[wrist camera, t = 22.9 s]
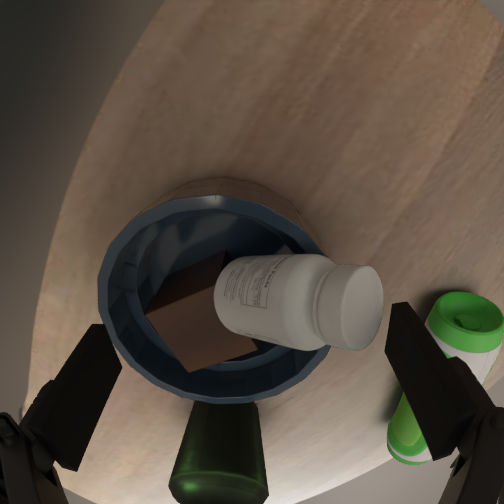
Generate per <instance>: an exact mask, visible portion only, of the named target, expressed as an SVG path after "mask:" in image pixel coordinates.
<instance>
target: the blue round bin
mask: <svg viewBox="0 0 504 504" xmlns="http://www.w3.org/2000/svg"><path fill="white" fill-rule="evenodd" d="M224 250H226V251H227V252H228V254H229V256H230V258H231V260H232V261H233V260H235V259H237V258H240V257H244V256H265V255H294V254H318V255H322V256H325V257H326V258H328V256H327V254H326V252H325V251H324V249H323V247H322V245H321V243H320V241H319V239H318V238H317V236H316V234H315V232H314V230H313V228H312V227H311V225H310V224H309V223H308V222H307V221H306V219H305V218H304V217H303V216H302V215H301V213H300V212H299V211H298V210H297V209H296V208H295V206H294V205H293V204H292V203H291V202H290V201H288V200H287V199H285V198H283V197H282V196H280V195H278V194H276V193H275V192H273V191H271V190H270V189H268V188H266V187H265V186H263V185H260V184H257V183H252V182H247V181H243V180H238V179H233V178H228V177H227V178H226V177H221V178H212V179H204V180H196V181H191V182H189V183H186V184H184V185H182V186H180V187H178V188H176V189H174V190H172V191H170V192H168V193H166V194H164V195H162V196H161V197H160V198H158V199H157V200H156V201H154V202H153V203H152V204H151V205H149V206H148V207H147V208H146V209H144V210H143V211H142V212H141V213H139V214H138V215H137V216H136V217H134V218H133V219H132V220H131V221H130V222H129V223H128V225H127V226H126V227H125V228H124V229H123V230H122V231H121V232H120V233H119V235H118V236H117V237H116V238H115V239H114V240H113V241H112V243H111V244H110V245H109V246H108V249H107V252H106V255H105V257H104V260H103V263H102V266H101V269H100V271H99V274H98V309H99V313H100V316H101V319H102V321H103V324H105V326H106V328H107V331H108V334H109V336H110V339H111V341H112V343H113V345H114V346H115V347H116V349H117V350H118V351H119V353H120V354H121V355H122V357H123V358H124V359H125V361H126V362H127V363H128V364H129V365H130V366H131V367H132V368H133V369H135V370H136V371H137V372H138V373H140V374H141V375H142V376H143V377H145V378H146V379H147V380H149V381H150V382H151V383H153V384H154V385H156V386H158V387H160V388H162V389H164V390H167V391H169V392H171V393H173V394H176V395H178V396H180V397H182V398H183V397H184V398H187V399H192V400H197V401H202V402H207V403H212V404H238V403H250V402H254V401H258V400H261V399H265V398H268V397H272V396H276V395H278V394H280V393H282V392H284V391H285V390H287V389H289V388H291V387H292V386H294V385H296V384H297V383H299V382H301V381H302V380H304V379H305V378H306V377H307V376H308V375H309V374H310V373H311V372H312V371H313V370H314V369H315V368H316V367H317V366H318V365H319V364H320V362H321V361H322V360H323V359H324V358H325V357H326V356H327V354H328V351H329V349H330V347H331V345H327V344H326V345H325V346H323V347H321V348H319V349H316V350H312V351H304V350H299V349H294V348H290V347H286V346H282V345H278V344H274V343H270V342H267V341H263V340H259V339H258V350H256V351H253V352H250V353H247V354H244V355H241V356H239V357H236V358H233V359H230V360H227V361H224V362H221V363H218V364H215V365H212V366H208V367H205V368H202V369H199V370H196V371H192V372H188V371H187V370H186V369H185V368H184V366H183V365H182V364H181V363H180V361H179V360H178V359H177V357H176V356H175V355H174V354H173V352H172V351H171V350H170V348H169V347H168V346H167V344H166V343H165V342H164V340H163V339H162V338H161V336H160V335H159V334H158V332H157V331H156V330H155V328H154V327H153V325H152V324H151V323H150V321H149V320H148V318H147V317H146V316H145V314H146V312H147V310H148V308H149V306H150V304H151V303H152V301H153V299H154V297H155V295H156V293H157V292H158V290H159V288H160V286H161V284H162V282H163V281H164V279H165V277H167V276H169V275H171V274H174V273H176V272H178V271H180V270H182V269H184V268H187V267H189V266H191V265H193V264H195V263H198V262H200V261H202V260H204V259H206V258H208V257H211V256H213V255H215V254H217V253H219V252H222V251H224ZM328 259H329V258H328Z"/></svg>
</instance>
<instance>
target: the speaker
mask: <svg viewBox="0 0 504 504" xmlns="http://www.w3.org/2000/svg"><path fill="white" fill-rule="evenodd" d="M424 325H425V327H426V328H427V329H428V331H429V332H430V334H431V335H432V336H433V338H434V339H435V341H436V342H437V344H438V345H439V347H440V348H441V349H442V351H443V352H444V354H445V355H446V357H447V358H451V357H454V356H457V357H459V358H460V359H462V360H463V361H464V362H466V363H467V365H468V366H469V368H470V369H471V370H472V373H474V375H475V376H476V378H477V381H479V382H480V384H481V385H483V383H484V381H485V379H486V377H487V375H488V374H489V372H490V370H491V368H492V366H493V364H494V362H495V360H496V358H497V356H498V353H499V351H500V348H501V344H502V340H503V332H504V317H503V314H502V312H501V311H500V309H499V308H498V307H497V306H496V305H495V304H494V303H492V302H491V301H489V300H488V299H486V298H484V297H481V296H479V295H476V294H472V293H467V292H450V293H447V294H444V295H443V296H441V297H439V298H438V299H437V301H436V302H435V304H434V306H433V307H432V309H431V311H430V313H429V315H428V317H427V319H426V322H425V323H424ZM387 447H388V450H389V452H390V454H391V455H392V456H393V457H394V458H395V459H396V460H398V461H399V462H402V463H404V464H408V465H419V464H423V463H425V462H427V461H429V460H431V459H432V457H431V454H430V452H429V449H428V447H427V444H426V442H425V439H424V437H423V435H422V432H421V430H420V428H419V425H418V423H417V421H416V418H415V416H414V414H413V411H412V409H411V407H410V405H409V402H408V400H407V398H406V396H405V394H404V391H403V393H402V397H401V400H400V402H399V404H398V407H397V409H396V411H395V413H394V415H393V416H392V418H391V420H390V422H389V425H388V430H387Z"/></svg>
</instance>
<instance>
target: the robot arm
mask: <svg viewBox="0 0 504 504" xmlns="http://www.w3.org/2000/svg"><path fill="white" fill-rule="evenodd" d="M385 354H386V356H387V358H388V360H389V362H390V364H391V366H392V368H393V370H394V372H395V374H396V376H397V379H398V381H399V383H400V385H401V387H402V389H403V391H404V394H405V396H406V398H407V400H408V402H409V405H410V407H411V409H412V411H413V414H414V416H415V418H416V421H417V423H418V425H419V428H420V430H421V432H422V435H423V437H424V439H425V442H426V444H427V447H428V449H429V452H430V454H431V457H432V459H433V461H435V460H438V459H441V458H444V457H446V456H449V455H451V454H452V452H453V451H454V449H455V448H456V446H457V448H458V450H459V452H460V454H459V455H458V457H457V458H456V459H455V461H454V462H453V463H452V465H451V467H450V468H453V466H454V468H453V470H452V473H451V475H450V478H449V480H448V483H447V485H446V488H445V490H444V492H443V494H442V496H441V499H440V501H439V503H438V504H496V503H497V500H498V497H499V500H498V504H504V408H503V407H496V406H495V405H494V404H493V402H492V401H491V399H490V397H489V396H488V394H487V393H486V391H485V390H484V388H483V387H482V385H481V384H480V382H479V381H477V378H476V376H475V375H474V373H472V370H471V369H470V368H469V366H468V365H467V363H466V362H464V361H463V360H462V359H460V358H459V357H457V356H454V357H451V358H447V357H446V355H445V354H444V352H443V351H442V349H441V348H440V347H439V345H438V344H437V342H436V341H435V339H434V338H433V336H432V335H431V334H430V332H429V331H428V329H427V328H426V327H425V325H424V324H423V322H422V321H421V320H420V318H419V317H418V316H417V314H416V313H415V311H414V310H413V309H412V307H411V306H410V305H409V303H408V302H401V303H394V304H392V308H391V315H390V322H389V328H388V334H387V340H386V345H385ZM121 370H122V365H121V363H120V361H119V358H118V356H117V353H116V351H115V349H114V346H113V344H112V341H111V339H110V336H109V334H108V331H107V328H106V326H105V324H92V325H91V326H90V327H89V329H88V330H87V332H86V333H85V334H84V336H83V337H82V339H81V340H80V342H79V343H78V345H77V346H76V348H75V349H74V350H73V352H72V353H71V355H70V356H69V358H68V359H67V361H66V362H65V364H64V365H63V367H62V368H61V370H60V372H59V373H58V375H57V376H56V378H55V379H54V380H50V381H49V382H47V383H46V384H45V385H44V386H43V387H42V388H41V390H40V391H39V393H38V395H37V397H36V398H35V399H34V401H33V404H31V406H30V407H29V409H28V411H27V412H26V414H25V415H24V417H23V419H22V420H21V422H20V424H19V426H18V425H17V423H16V422H15V421H14V419H13V418H12V417H11V416H10V415H9V414H8V413H5V412H2V413H0V504H69V503H68V501H67V498H66V496H65V493H64V491H63V488H62V485H61V482H60V480H59V477H58V474H57V471H56V469H55V467H54V466H53V463H54V461H55V460H56V461H57V463H58V464H59V465H60V466H61V467H62V468H65V469H68V470H72V471H75V472H77V471H78V468H79V466H80V463H81V461H82V458H83V456H84V453H85V451H86V448H87V446H88V444H89V441H90V439H91V436H92V434H93V432H94V429H95V427H96V425H97V422H98V420H99V418H100V416H101V413H102V411H103V409H104V407H105V404H106V402H107V400H108V398H109V395H110V393H111V391H112V389H113V387H114V385H115V382H116V380H117V378H118V376H119V374H120V372H121Z"/></svg>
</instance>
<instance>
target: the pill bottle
mask: <svg viewBox="0 0 504 504" xmlns="http://www.w3.org/2000/svg"><path fill="white" fill-rule="evenodd" d="M383 303H384V299H383V287H382V284H381V281H380V278H379V276H378V274H377V272H376V271H375V270H374V269H373V268H372V267H370V266H366V265H347V264H344V265H340V264H339V265H335V264H334V263H333V262H332V261H331V260H330V259H328V258H326V257H325V256H322V255H318V254H294V255H265V256H244V257H240V258H237V259H235V260H233V261H232V262H230V263H229V264H228V265H227V266H226V267H225V268H224V269H223V270H222V272H221V273H220V275H219V277H218V280H217V282H216V285H215V290H214V304H215V309H216V312H217V315H218V317H219V319H220V320H221V322H222V323H223V324H224V326H225V327H226V328H228V329H229V330H231V331H233V332H235V333H237V334H241V335H245V336H248V337H252V338H256V339H259V340H263V341H267V342H270V343H274V344H278V345H282V346H286V347H290V348H294V349H299V350H304V351H312V350H316V349H319V348H321V347H323V346H325V345H326V344H327V345H331V346H332V347H335V348H343V349H349V350H362V349H364V348H365V347H367V346H368V345H369V344H370V343H371V342H372V341H373V339H374V337H375V336H376V334H377V332H378V329H379V326H380V323H381V320H382V314H383Z"/></svg>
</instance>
